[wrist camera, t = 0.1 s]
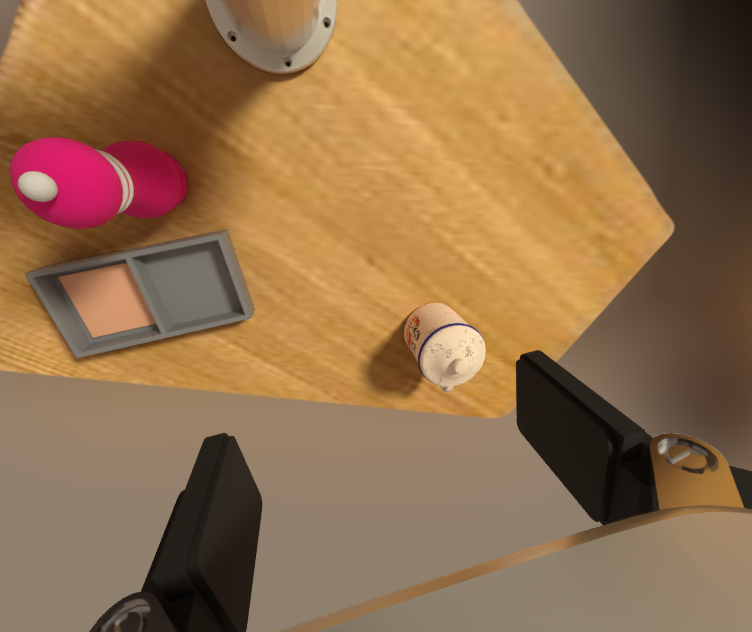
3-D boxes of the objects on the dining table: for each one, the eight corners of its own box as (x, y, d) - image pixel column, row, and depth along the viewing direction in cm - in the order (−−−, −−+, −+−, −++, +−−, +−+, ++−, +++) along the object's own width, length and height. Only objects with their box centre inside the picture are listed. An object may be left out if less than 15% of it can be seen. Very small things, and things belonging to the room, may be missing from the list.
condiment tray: (44, 266, 40) (24, 273, 37) (227, 229, 42) (221, 233, 39) (91, 346, 44) (76, 358, 42) (254, 309, 46) (251, 318, 44)
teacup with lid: (398, 306, 50) (423, 342, 40) (458, 295, 51) (498, 327, 41) (405, 376, 55) (429, 424, 44) (459, 364, 56) (495, 409, 46)
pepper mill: (131, 214, 40) (-15, 251, 21) (111, 144, 37) (-77, 117, 19) (199, 212, 41) (114, 244, 23) (184, 143, 38) (74, 118, 20)
